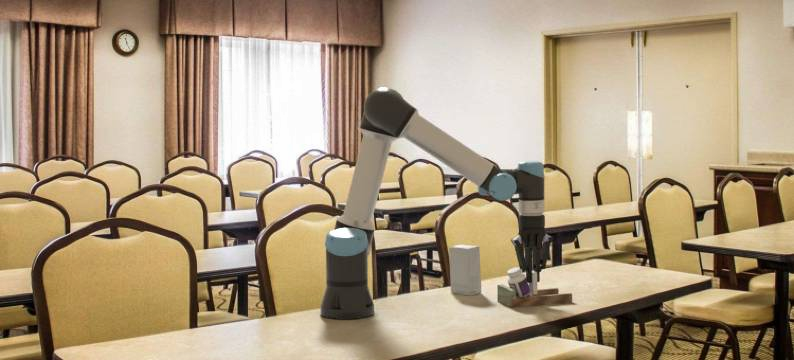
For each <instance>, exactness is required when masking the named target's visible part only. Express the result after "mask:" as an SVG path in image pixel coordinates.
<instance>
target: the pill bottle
mask: <svg viewBox="0 0 794 360" xmlns="http://www.w3.org/2000/svg"><path fill="white" fill-rule="evenodd" d="M506 273H507V276H508V278H507V284H508V287H510V288H512V289H515V290H516V298H520V297H531V296H532V293H531V291H530V288H529V283H528V282H527V279H526V274H524V273H522V270H521V269H520V267H519V266H517V267H512V268H510V269H508V270H507V272H506Z"/></svg>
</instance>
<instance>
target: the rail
mask: <svg viewBox="0 0 794 360" xmlns="http://www.w3.org/2000/svg"><path fill="white" fill-rule="evenodd" d="M559 291H560V290H559V288H557V287H555V288H551V287H550V288H542V289H541V288H540V289H537V294H532V296H531V297H520V298H516V290H515V289H512V288H510V286H507V285H504V284H497V302H498V303H500V304H502V305H505V306H507V307H509V308H520V307H521V308H522V307H534V306H544V305H554V304H566V303H573V293H572V292H568V293H567V292H566V293H560V292H559Z"/></svg>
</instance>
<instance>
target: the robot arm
mask: <svg viewBox="0 0 794 360" xmlns="http://www.w3.org/2000/svg"><path fill="white" fill-rule="evenodd" d="M359 130H360V132H361V134H362V139H361V143H360V146H359V151H358V155H357V159H356V163H355V167H354V170H353V175H352V179H351V183H350V186H349V189H348V190H349V191H348V194H347V199H346V202H345V206H344V209H343V210H344V211H343V214H342V215H340V216H338V217H337V218H336V221H335V225H334V229H332V230H330V231H328V233H327V234H326V235H325V241H324V246H325V263H326V264H325V272H326V274H325V276H326V277H325V278H326V286H325V291H324V292H323V293H324V294H323V297H322V301H321V304H320V315H321V314H322V315H323V316H322V315H321V316H322V317H324V316H326V317H325V318H328V317H330V318H329V319H334V318H337V319H336V320H355V319H354V318H357V319H362V317H364V318H368V317H370V315H371V316H373V315H374V314H375V303H374V301H373V297H372V295H371V292H370V289H369V284H368V283H369V281H368V280H369V279H368V277H369V276H368V274H369V273H368V271H369V270H368V269H369V268H368V267H369V265H368V264H369V263H368V260H369V259H368V258H369V256H370V253H371V247H372V242H373V238H374V234H375V230H376V227H375V225H374V224H373V222H372V221H373V218H374V212H375V209H376V205H377V202H378V201H377V200H378V198H379V194H380V190H381V185H382V182H383V178H384V173H385V171H386V166H387V162H388V159H389V154H390V151H391V147H392V143H393V142H396V141H397V140H398V139H402V138H403V139H406V140H407V141H409V142H410V143H412V144H413V145H415V146H416V147H418V148H419V149H420V150H422V151H424V152H425V153H426V154H428V155H430V156H431V157H432V158H435V159H436V160H438V161H439V162H441V164H444V165H445V166H447V167H448V168H450V169H451V170H453V171H454V172H456V173H457V174H458V175H460V176H462V177H464V179H466V180H468V181H470V182H471V183H473V184H474V185H476V186H477V192H478V194H479V195H480V196H491V197H492V198H494V199H495V200H498V201H508V200H510V199H511V198H513V197H514V196H515V195H518V213H519V214H520V215H518V221H519V222H518V226H519V230H518V231H519V232H518V233H517V236H516V237H515V238H511V240H510V241H511V244H512V245H513V246H514V250H515V255H516V258H517V262H518V267H519V268H520V269H521V271H524V272H525V277H526V279H527V282H528V285H529V288H530V291H531V293H532V294H537V290H538V283H539V282H540V281H541V279H540V277H541V276H540V274H541V272H542V270H545V269H546V267H547V262H548V257H549V252H550V247H551V244H552V242H553V241H554V237H553V236H551V235H549V234H547V231H546V229H545V226H546V215H545V214H544V213H545V211H546V210H545V208H546V206H545V200H546V199H545V179H546V177H545V173H544V172H545V170H544V169H545V168H544V167H545V166H544V164H543V162H541V161H538V160H537V161H534V160H533V161H531V160H530V161H527V160H526V161H519V163H518V164H517V168H511V169H509V168H507V169H506V168H505V169H504V168H502V169H501V168H500V167H498V166H497V165H495V164H494V163H493V162H491V161H489V160H488V159H486V158H485V157H484V156H482V155H481V154H479V153H477V152H476V151H474V150H473V149H471V148H470V147H468V146H467V145H466V144H464V143H462V142H461V141H459V140H458V139H456V138H455V137H453V136H452V135H450V134H449V133H447V132H446V131H444V130H443V129H441V128H439V127H438V126H436V125H435V124H434V123H432V122H431V121H429V120H427V119H426V118H424V117H423V116H422V115H420V114H419V110H418V108H416V107H415V106H413V105H412V104H411V103H409V102H408V101H407V100H405V99H404V97H403V95H402V94H401V93H400V92H399V91H398V90H396V89H393V88H390V87H379V88H375V89H374V90H372V91H370V93H369V94H368V95H367V97H366V98H365V101H364V104H363V114H362V118H361V122H360V125H359ZM522 243H523V245H522ZM523 247H524V249H523ZM367 316H368V317H367Z"/></svg>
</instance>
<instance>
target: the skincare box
mask: <svg viewBox="0 0 794 360" xmlns="http://www.w3.org/2000/svg"><path fill="white" fill-rule="evenodd" d="M480 251H481V250H480V245H469V244H468V245H467V244H457V245H453V246H448V252H449V253H448V255H449V274H450V275H449V277H450V280H449V282H450V293H451V294H458V295H462V296H463V295H464V296H474V295H479V294H482V272H481V254H480Z"/></svg>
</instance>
